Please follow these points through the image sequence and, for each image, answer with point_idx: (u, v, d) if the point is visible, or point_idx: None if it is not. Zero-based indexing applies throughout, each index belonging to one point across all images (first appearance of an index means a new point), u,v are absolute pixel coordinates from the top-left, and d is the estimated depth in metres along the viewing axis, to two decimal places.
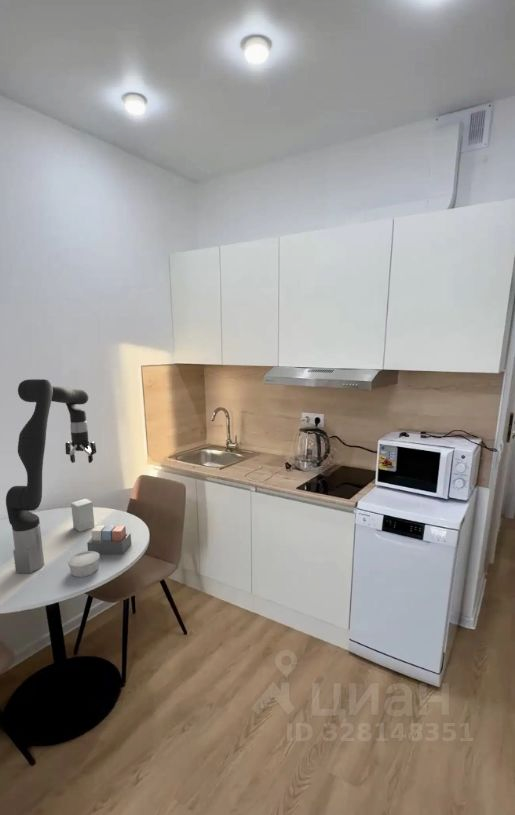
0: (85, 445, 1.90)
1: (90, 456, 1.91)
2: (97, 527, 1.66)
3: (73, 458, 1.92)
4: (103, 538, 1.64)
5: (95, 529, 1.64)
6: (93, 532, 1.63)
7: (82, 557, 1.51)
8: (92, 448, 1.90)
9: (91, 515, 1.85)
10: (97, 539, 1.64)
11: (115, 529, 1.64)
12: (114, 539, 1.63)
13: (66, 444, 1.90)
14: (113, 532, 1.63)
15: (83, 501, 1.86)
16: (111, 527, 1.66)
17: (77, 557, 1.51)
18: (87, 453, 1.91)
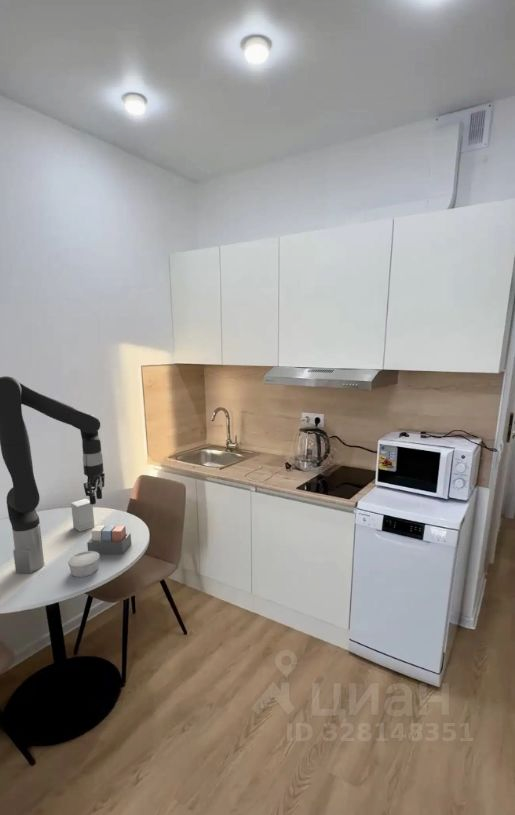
0: None
1: None
2: (97, 527, 1.66)
3: None
4: (103, 538, 1.64)
5: (95, 529, 1.64)
6: (93, 532, 1.63)
7: (82, 557, 1.51)
8: (103, 479, 1.68)
9: (91, 515, 1.85)
10: (97, 539, 1.64)
11: (115, 529, 1.64)
12: (114, 539, 1.63)
13: (90, 485, 1.56)
14: (113, 532, 1.63)
15: (83, 501, 1.86)
16: (111, 527, 1.66)
17: (77, 557, 1.51)
18: (100, 487, 1.65)
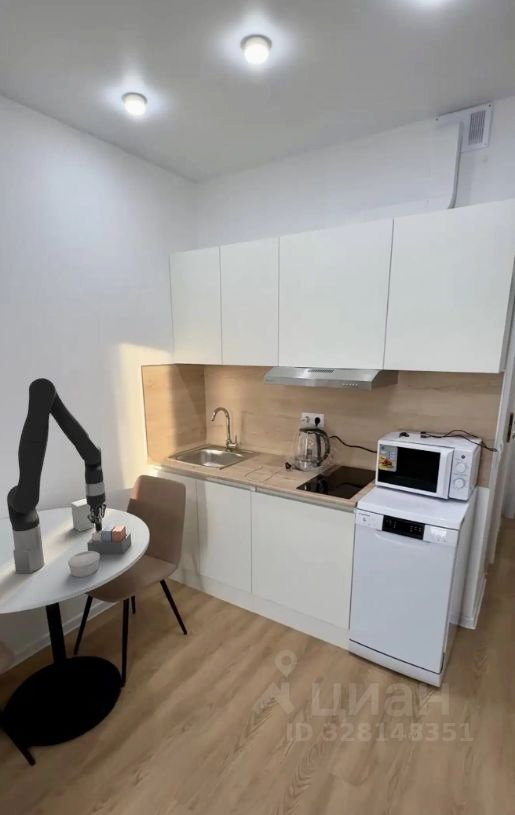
0: None
1: None
2: None
3: None
4: (103, 538, 1.64)
5: (95, 531, 1.65)
6: (93, 534, 1.64)
7: (82, 557, 1.51)
8: (104, 510, 1.69)
9: None
10: None
11: (115, 529, 1.64)
12: (114, 539, 1.63)
13: (94, 517, 1.59)
14: (113, 532, 1.63)
15: (83, 501, 1.86)
16: (111, 527, 1.66)
17: (77, 557, 1.51)
18: (101, 517, 1.65)
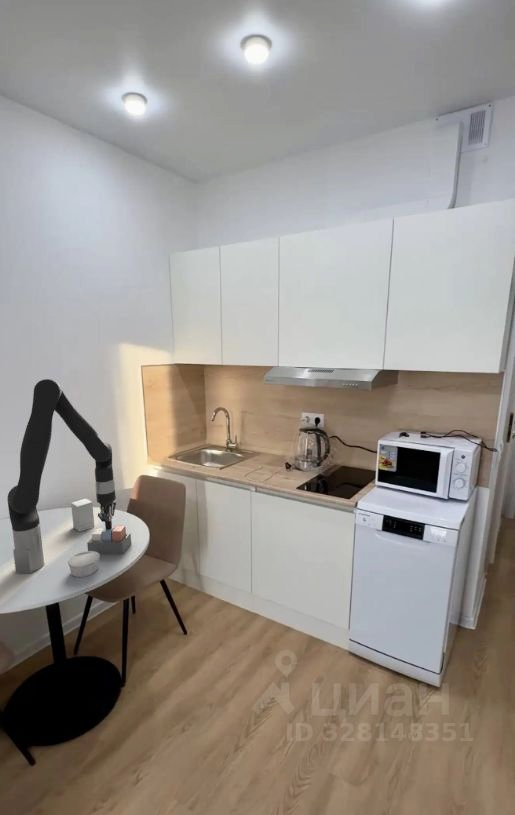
0: None
1: None
2: (97, 530, 1.66)
3: None
4: (103, 538, 1.64)
5: (95, 532, 1.65)
6: (93, 535, 1.64)
7: (82, 557, 1.51)
8: (114, 509, 1.68)
9: (91, 515, 1.85)
10: None
11: (115, 529, 1.64)
12: (114, 539, 1.63)
13: (104, 515, 1.59)
14: (113, 532, 1.63)
15: (83, 501, 1.86)
16: None
17: (77, 557, 1.51)
18: (111, 516, 1.65)
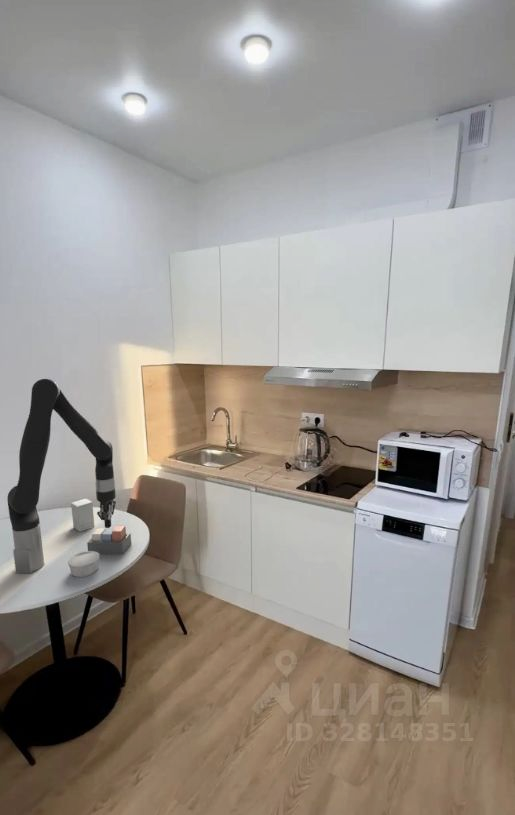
0: None
1: None
2: (97, 530, 1.66)
3: None
4: None
5: (95, 532, 1.65)
6: (93, 535, 1.64)
7: (82, 557, 1.51)
8: (114, 507, 1.68)
9: (91, 515, 1.85)
10: None
11: (115, 529, 1.64)
12: (114, 539, 1.63)
13: (103, 513, 1.58)
14: (113, 532, 1.63)
15: (83, 501, 1.86)
16: (111, 530, 1.66)
17: (77, 557, 1.51)
18: (110, 514, 1.65)
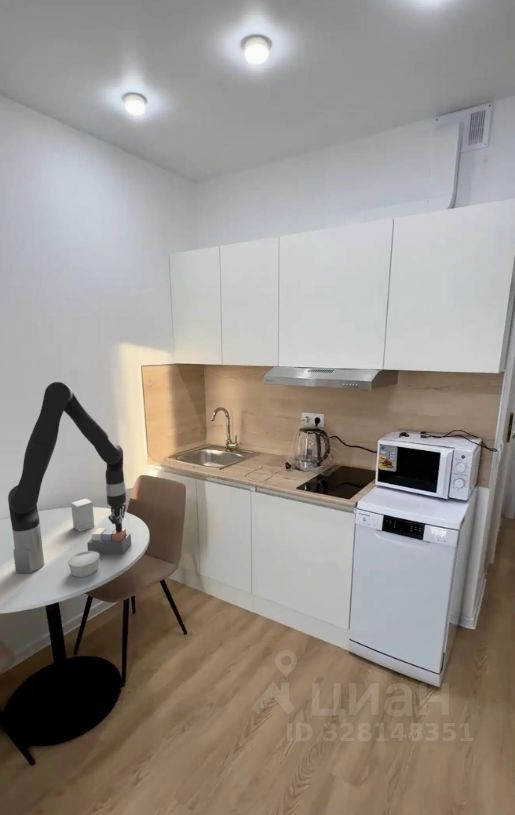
0: (122, 508, 1.66)
1: None
2: (97, 530, 1.66)
3: None
4: None
5: (95, 532, 1.65)
6: (93, 535, 1.64)
7: (82, 557, 1.51)
8: (124, 511, 1.68)
9: (91, 515, 1.85)
10: None
11: (115, 531, 1.64)
12: None
13: (115, 517, 1.59)
14: (113, 534, 1.63)
15: (83, 501, 1.86)
16: (111, 530, 1.66)
17: (77, 557, 1.51)
18: (121, 518, 1.65)
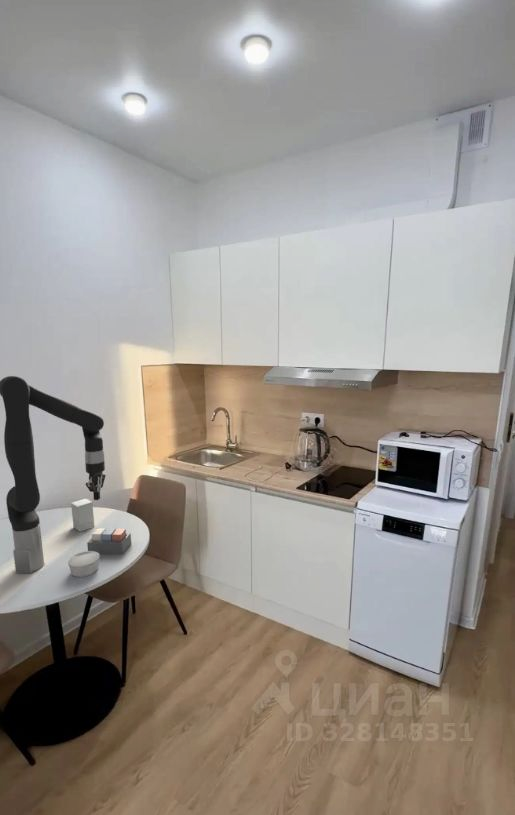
0: None
1: None
2: (97, 530, 1.66)
3: None
4: None
5: (95, 532, 1.65)
6: (93, 535, 1.64)
7: (82, 557, 1.51)
8: (103, 481, 1.71)
9: (91, 515, 1.85)
10: None
11: (115, 532, 1.64)
12: None
13: (92, 484, 1.61)
14: (113, 535, 1.63)
15: (83, 501, 1.86)
16: (111, 530, 1.66)
17: (77, 557, 1.51)
18: (99, 487, 1.67)
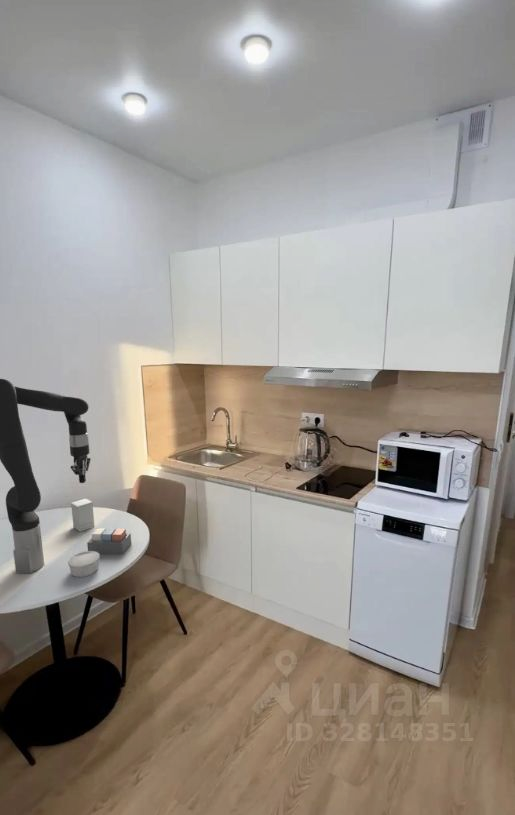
0: None
1: None
2: (97, 530, 1.66)
3: None
4: None
5: (95, 532, 1.65)
6: (93, 535, 1.64)
7: (82, 557, 1.51)
8: (88, 464, 1.73)
9: (91, 515, 1.85)
10: None
11: (115, 532, 1.64)
12: None
13: (77, 467, 1.63)
14: (113, 535, 1.63)
15: (83, 501, 1.86)
16: (111, 530, 1.66)
17: (77, 557, 1.51)
18: (84, 470, 1.70)
